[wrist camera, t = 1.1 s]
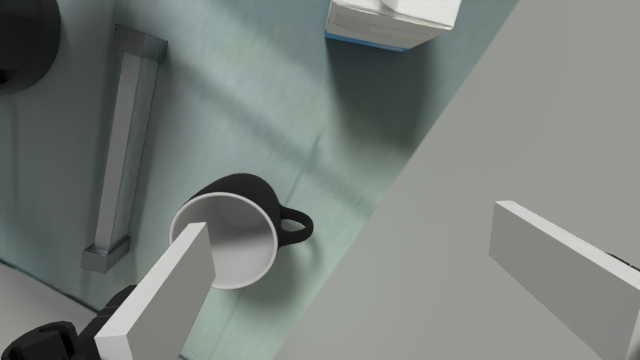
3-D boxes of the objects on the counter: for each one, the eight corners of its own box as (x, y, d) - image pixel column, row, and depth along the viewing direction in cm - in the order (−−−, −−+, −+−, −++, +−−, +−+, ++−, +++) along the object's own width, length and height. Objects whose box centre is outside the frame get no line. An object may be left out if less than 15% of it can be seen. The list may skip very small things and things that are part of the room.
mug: (205, 233, 36) (168, 286, 27) (207, 158, 34) (166, 186, 24) (308, 243, 37) (308, 297, 28) (317, 170, 35) (320, 201, 25)
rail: (107, 246, 36) (80, 267, 32) (142, 32, 30) (116, 23, 26) (128, 252, 37) (104, 273, 33) (167, 41, 31) (145, 33, 26)
